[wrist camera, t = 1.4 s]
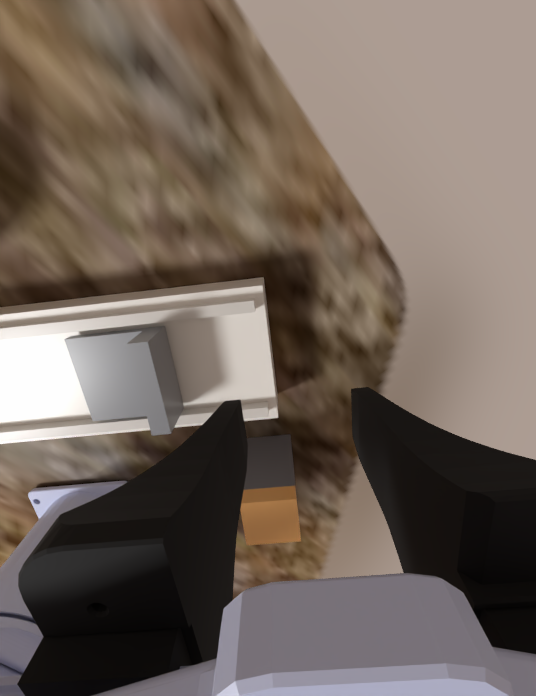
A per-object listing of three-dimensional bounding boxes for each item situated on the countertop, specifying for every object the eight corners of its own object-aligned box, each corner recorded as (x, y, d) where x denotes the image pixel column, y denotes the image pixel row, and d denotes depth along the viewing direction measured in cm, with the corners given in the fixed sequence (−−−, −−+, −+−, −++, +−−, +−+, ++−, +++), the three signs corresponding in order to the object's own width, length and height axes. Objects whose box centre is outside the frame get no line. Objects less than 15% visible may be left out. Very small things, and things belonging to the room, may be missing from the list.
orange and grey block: (294, 469, 25) (301, 541, 19) (252, 473, 25) (246, 545, 19) (290, 434, 23) (296, 499, 18) (246, 438, 24) (239, 503, 18)
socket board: (263, 277, 19) (262, 287, 16) (277, 394, 22) (278, 424, 19) (-50, 312, 20) (-115, 329, 17) (0, 420, 23) (-47, 454, 20)
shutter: (164, 325, 17) (147, 341, 15) (184, 407, 19) (171, 433, 16) (70, 335, 17) (38, 353, 15) (98, 415, 19) (72, 442, 17)
